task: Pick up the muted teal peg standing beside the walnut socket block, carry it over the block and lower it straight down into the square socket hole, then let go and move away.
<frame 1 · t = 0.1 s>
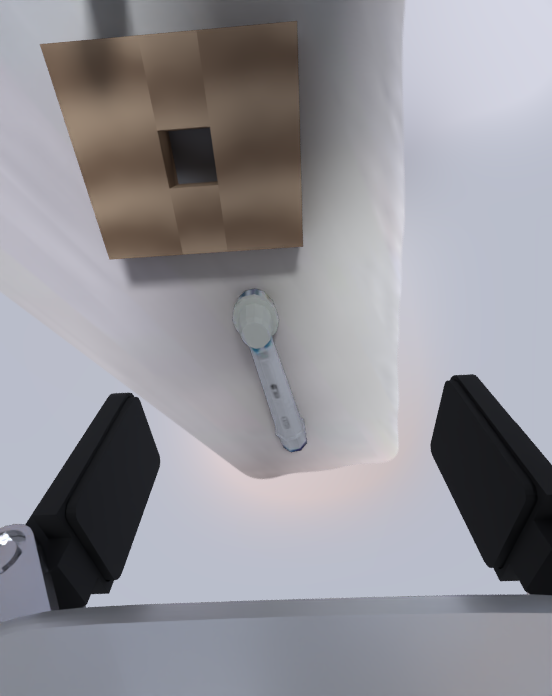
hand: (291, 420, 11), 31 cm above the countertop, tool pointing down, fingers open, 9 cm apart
white handheld massager: (275, 368, 48), on the countertop
socket block: (197, 156, 34), on the countertop
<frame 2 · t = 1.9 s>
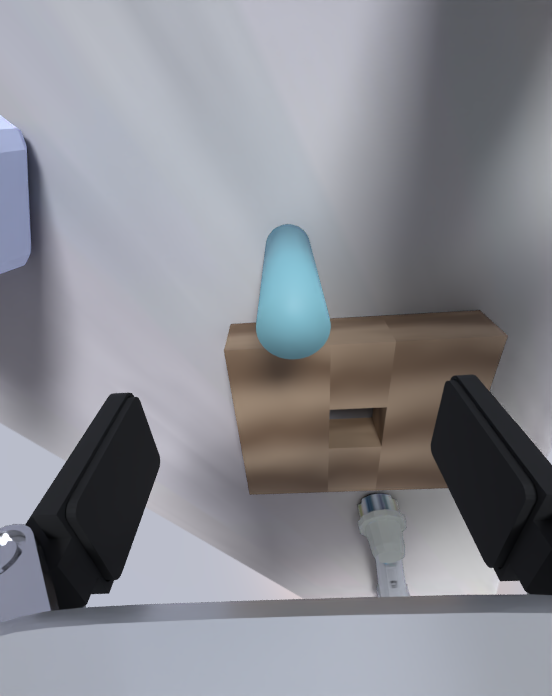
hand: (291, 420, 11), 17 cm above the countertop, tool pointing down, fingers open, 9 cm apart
peg: (287, 247, 25), on the countertop
white handheld massager: (383, 542, 47), on the countertop
socket block: (348, 397, 32), on the countertop
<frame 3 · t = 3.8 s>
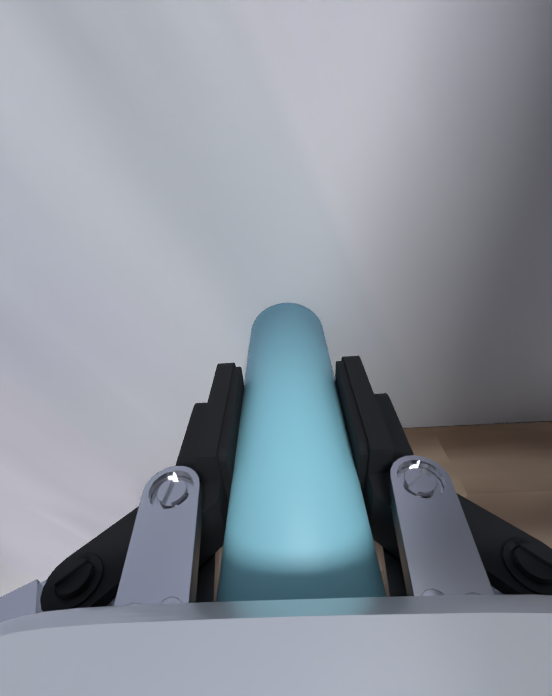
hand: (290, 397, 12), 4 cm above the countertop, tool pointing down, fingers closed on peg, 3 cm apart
peg: (287, 336, 15), on the countertop, touching gripper
socket block: (374, 523, 23), on the countertop
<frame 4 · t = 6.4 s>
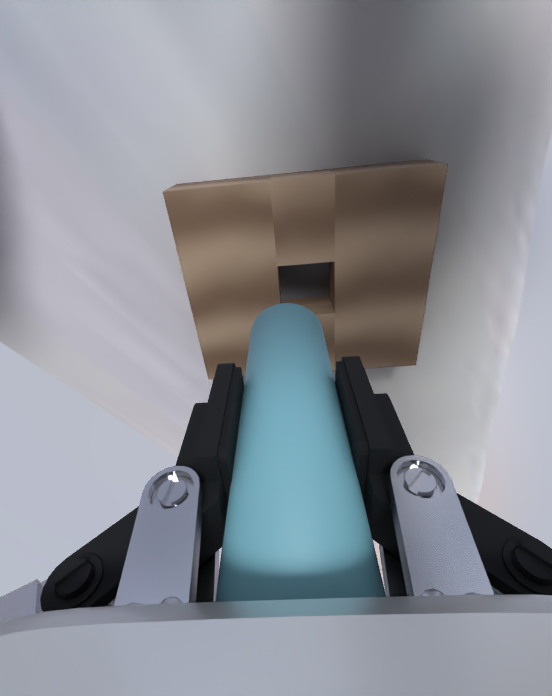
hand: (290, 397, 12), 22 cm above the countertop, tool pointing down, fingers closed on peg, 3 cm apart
peg: (286, 336, 15), point 18 cm above the countertop, touching gripper
socket block: (304, 273, 32), on the countertop
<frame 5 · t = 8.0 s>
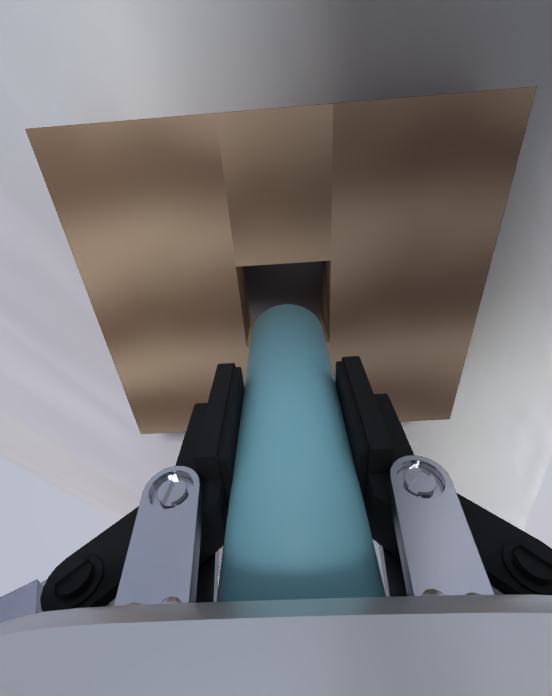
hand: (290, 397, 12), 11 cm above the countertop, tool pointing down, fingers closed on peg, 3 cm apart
peg: (287, 337, 15), point 7 cm above the countertop, touching gripper
socket block: (284, 279, 21), on the countertop
when the fingers open (6 cm above the countertop, at t = 9.4 s): peg drops 1 cm, resting on socket block.
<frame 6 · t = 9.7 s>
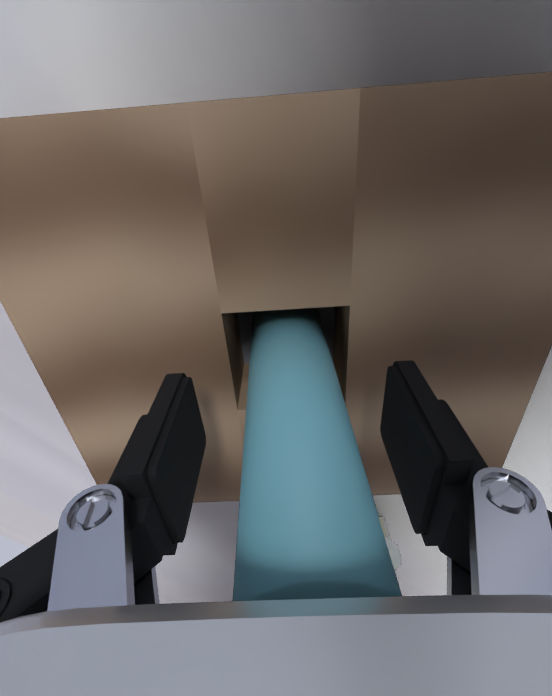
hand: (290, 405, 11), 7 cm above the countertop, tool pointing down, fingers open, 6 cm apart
peg: (285, 321, 17), resting on socket block
white handheld massager: (368, 580, 31), on the countertop
socket block: (286, 317, 17), on the countertop
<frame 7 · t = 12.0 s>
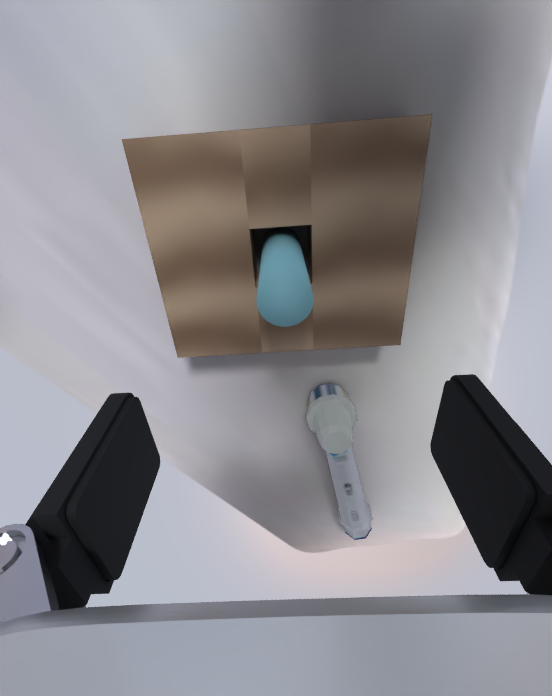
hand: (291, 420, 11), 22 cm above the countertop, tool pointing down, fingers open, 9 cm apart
peg: (281, 245, 30), resting on socket block
white handheld massager: (341, 455, 44), on the countertop
socket block: (281, 244, 30), on the countertop
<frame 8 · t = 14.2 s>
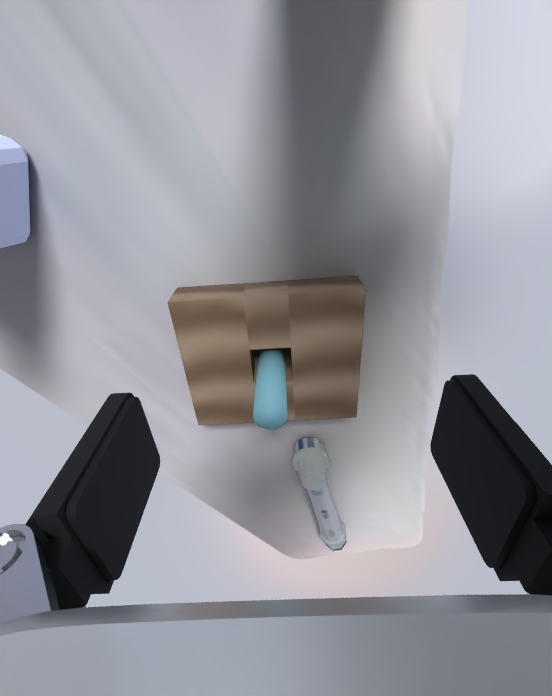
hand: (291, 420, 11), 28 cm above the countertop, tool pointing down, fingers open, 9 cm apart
peg: (271, 349, 42), resting on socket block
white handheld massager: (321, 486, 57), on the countertop
socket block: (272, 347, 43), on the countertop
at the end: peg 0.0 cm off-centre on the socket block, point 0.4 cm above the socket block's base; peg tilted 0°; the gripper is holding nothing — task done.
